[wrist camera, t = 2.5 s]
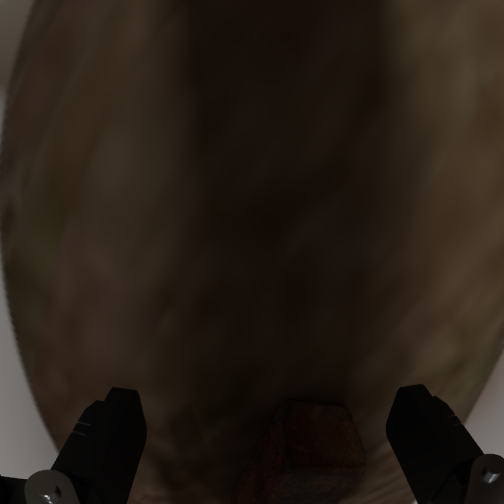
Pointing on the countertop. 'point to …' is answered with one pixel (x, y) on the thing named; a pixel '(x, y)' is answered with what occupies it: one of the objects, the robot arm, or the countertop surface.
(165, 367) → the countertop surface
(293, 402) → the brick
